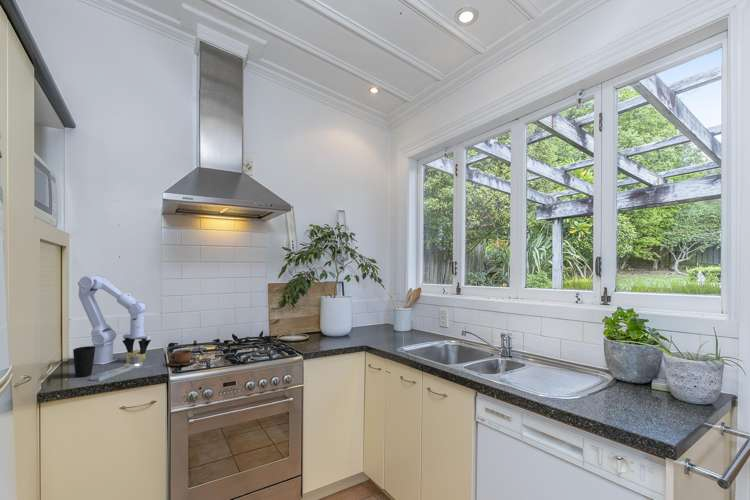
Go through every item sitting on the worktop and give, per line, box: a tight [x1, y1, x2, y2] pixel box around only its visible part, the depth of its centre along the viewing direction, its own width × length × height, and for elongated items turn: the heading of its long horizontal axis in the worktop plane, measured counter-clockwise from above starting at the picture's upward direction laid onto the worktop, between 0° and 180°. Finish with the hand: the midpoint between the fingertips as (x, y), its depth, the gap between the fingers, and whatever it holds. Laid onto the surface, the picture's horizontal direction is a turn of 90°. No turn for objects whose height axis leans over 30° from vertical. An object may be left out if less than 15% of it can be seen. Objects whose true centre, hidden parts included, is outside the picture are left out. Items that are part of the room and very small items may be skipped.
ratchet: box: [90, 356, 144, 382], centre depth 157 cm, size 7×22×5 cm, turn 169°
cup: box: [72, 345, 96, 379], centre depth 152 cm, size 8×8×12 cm
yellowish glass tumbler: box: [125, 349, 147, 364], centre depth 174 cm, size 6×6×5 cm
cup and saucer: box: [167, 349, 197, 367], centre depth 170 cm, size 12×12×6 cm
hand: (136, 353), depth 174 cm, fingers open, 7 cm apart
